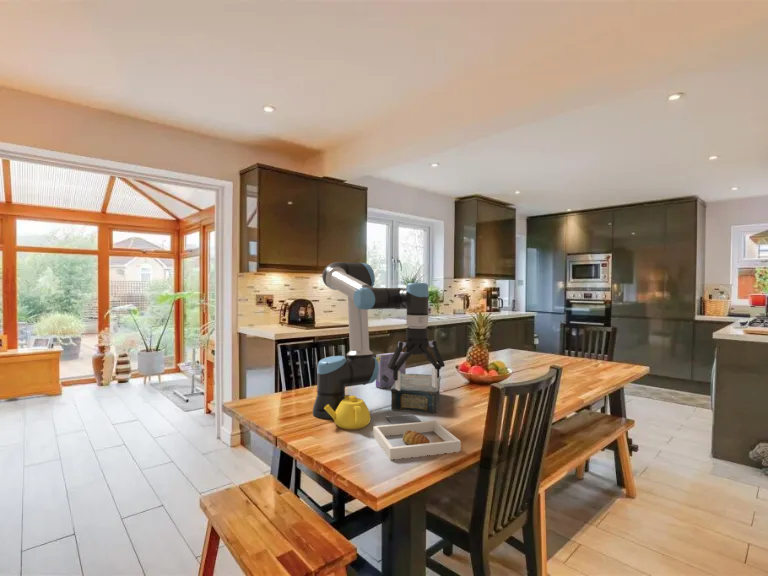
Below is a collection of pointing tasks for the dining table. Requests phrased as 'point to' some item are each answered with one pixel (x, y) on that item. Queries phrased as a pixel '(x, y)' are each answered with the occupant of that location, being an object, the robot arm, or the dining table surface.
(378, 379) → the cake pan box
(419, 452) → the white shallow tray
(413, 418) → the mat
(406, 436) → the pastry
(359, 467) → the dining table surface
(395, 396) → the metal box
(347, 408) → the teapot
